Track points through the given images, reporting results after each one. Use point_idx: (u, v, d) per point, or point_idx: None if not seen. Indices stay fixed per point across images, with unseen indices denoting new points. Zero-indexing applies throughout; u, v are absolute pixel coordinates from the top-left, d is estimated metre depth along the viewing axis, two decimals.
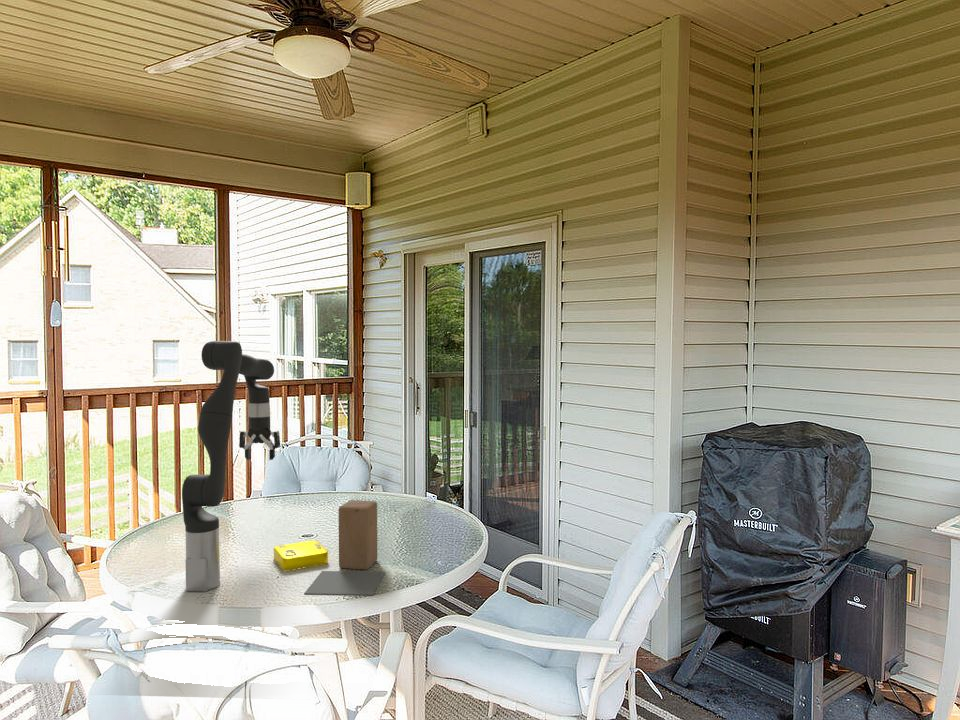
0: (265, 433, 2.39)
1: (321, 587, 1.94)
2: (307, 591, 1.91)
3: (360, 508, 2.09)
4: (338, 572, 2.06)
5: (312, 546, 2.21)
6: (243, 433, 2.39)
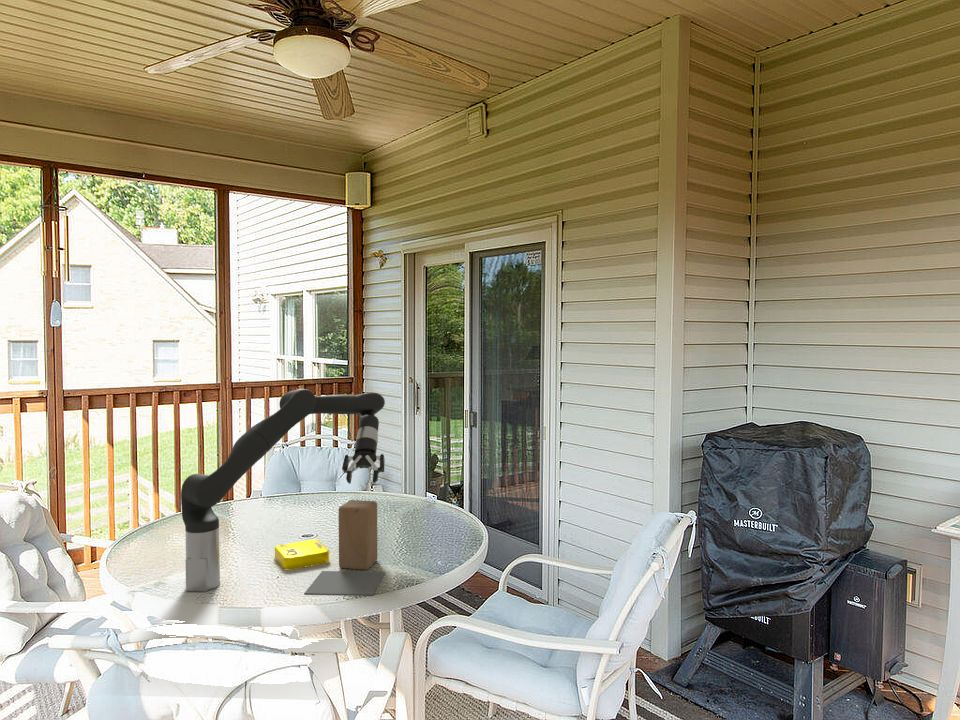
0: (371, 456, 2.30)
1: (321, 587, 1.94)
2: (307, 591, 1.91)
3: (360, 508, 2.09)
4: (338, 572, 2.06)
5: (313, 545, 2.22)
6: (348, 457, 2.31)
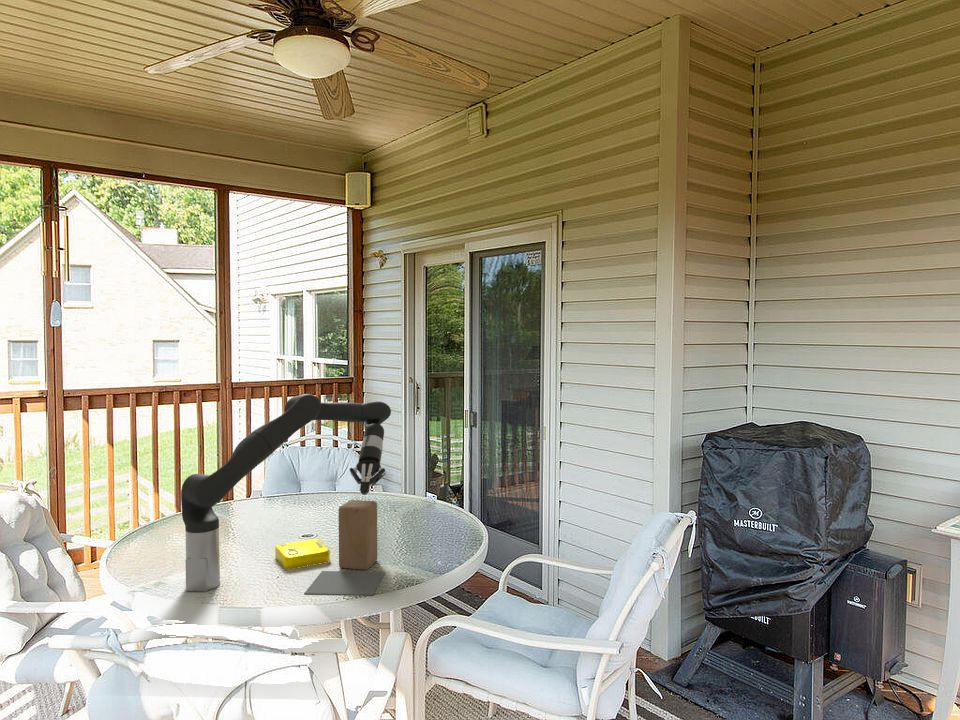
0: (376, 464, 2.29)
1: (321, 587, 1.94)
2: (307, 591, 1.91)
3: (360, 508, 2.09)
4: (338, 572, 2.06)
5: (314, 544, 2.23)
6: (353, 469, 2.28)
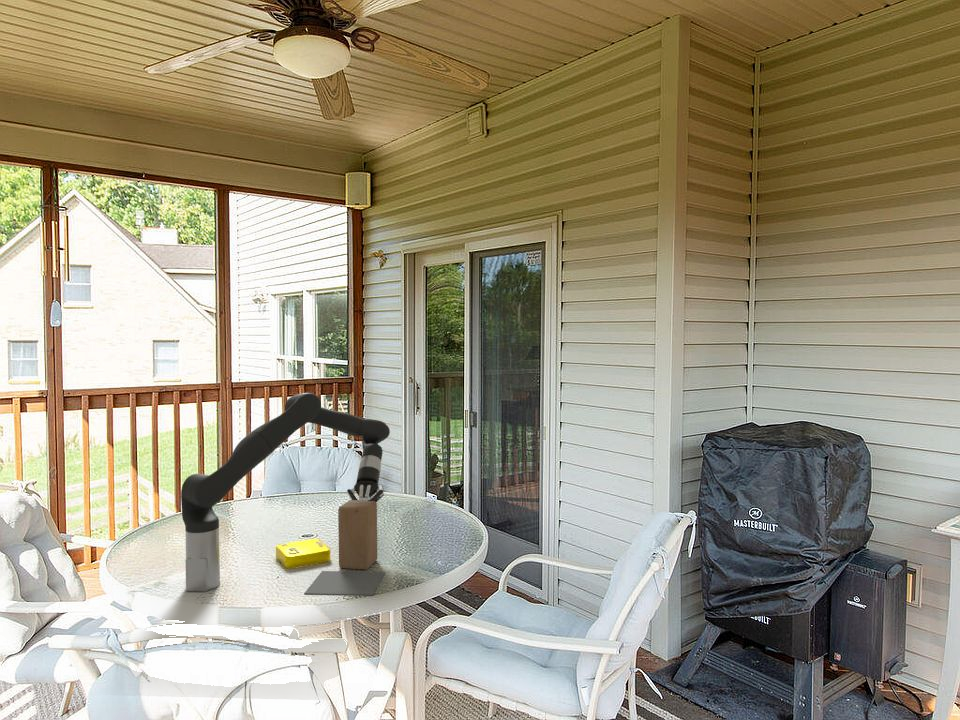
0: (374, 485, 2.26)
1: (321, 587, 1.94)
2: (307, 591, 1.91)
3: (360, 508, 2.08)
4: (338, 572, 2.06)
5: (314, 544, 2.23)
6: (350, 490, 2.25)
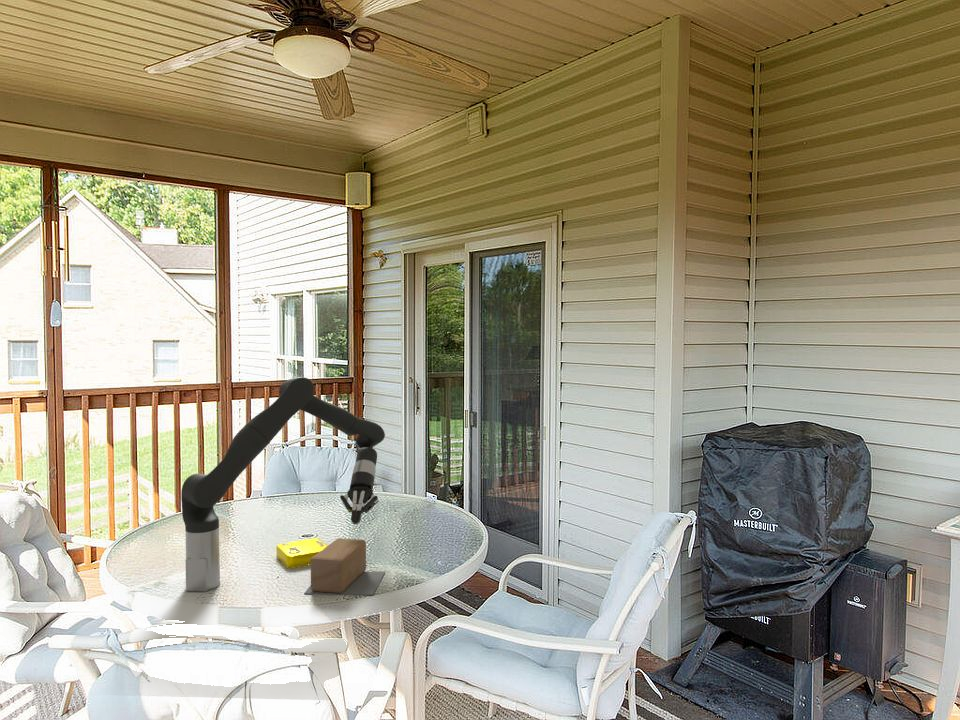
0: (368, 491, 2.16)
1: None
2: (307, 591, 1.91)
3: (334, 591, 1.89)
4: None
5: (315, 543, 2.24)
6: (344, 496, 2.16)
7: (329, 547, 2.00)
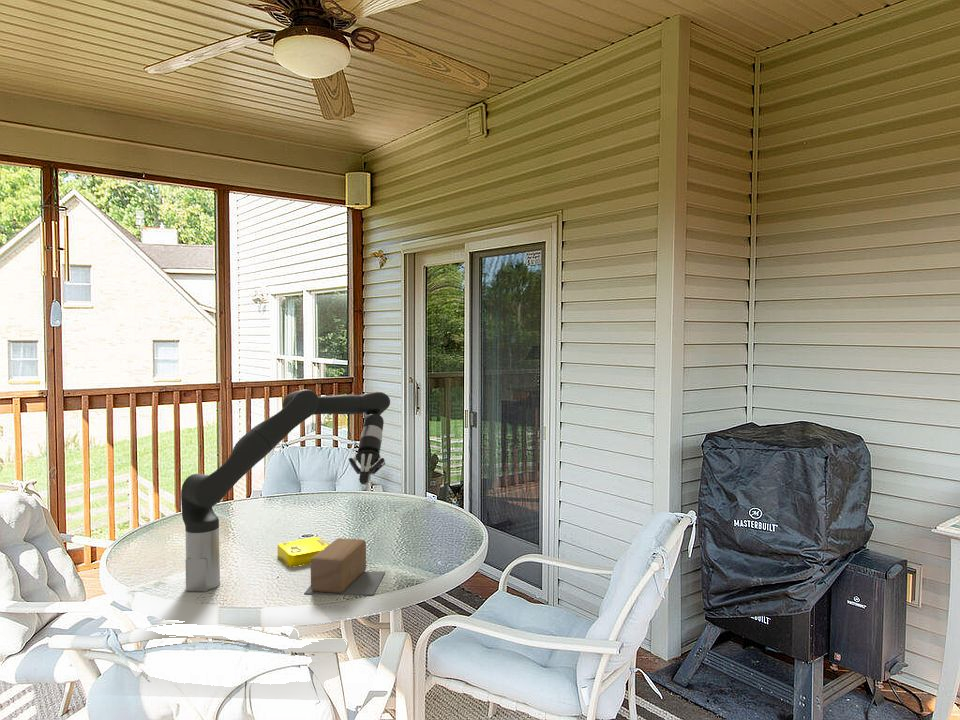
0: (375, 453, 2.28)
1: None
2: (307, 591, 1.91)
3: (334, 591, 1.89)
4: None
5: (316, 542, 2.25)
6: (352, 459, 2.27)
7: (329, 547, 2.00)
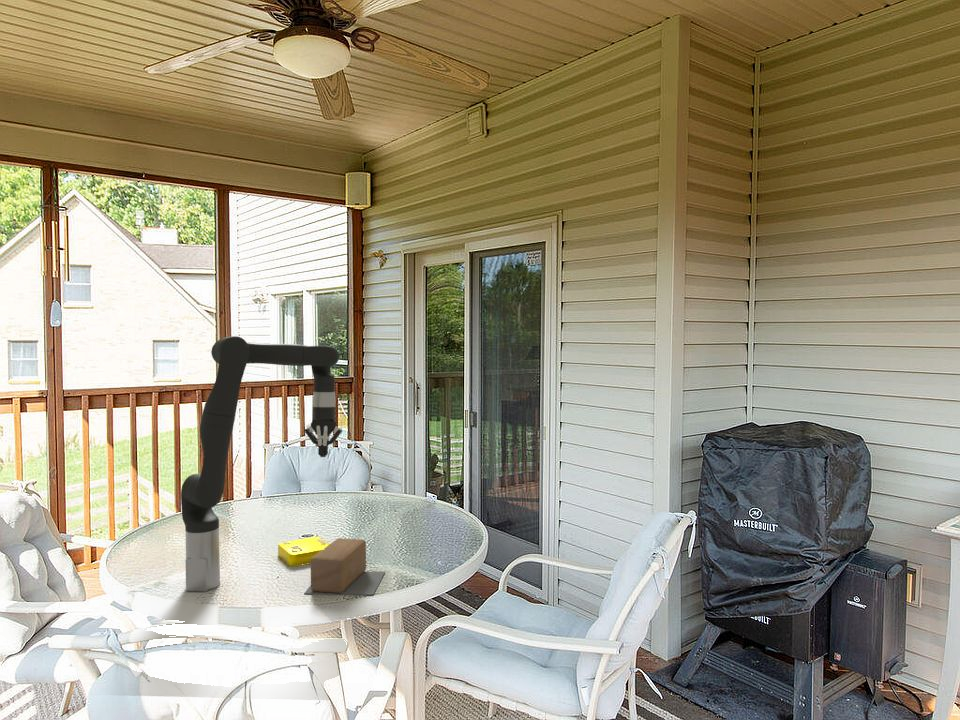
0: (330, 424, 2.21)
1: None
2: (307, 591, 1.91)
3: (334, 591, 1.89)
4: None
5: (316, 542, 2.25)
6: (308, 429, 2.21)
7: (329, 547, 2.00)
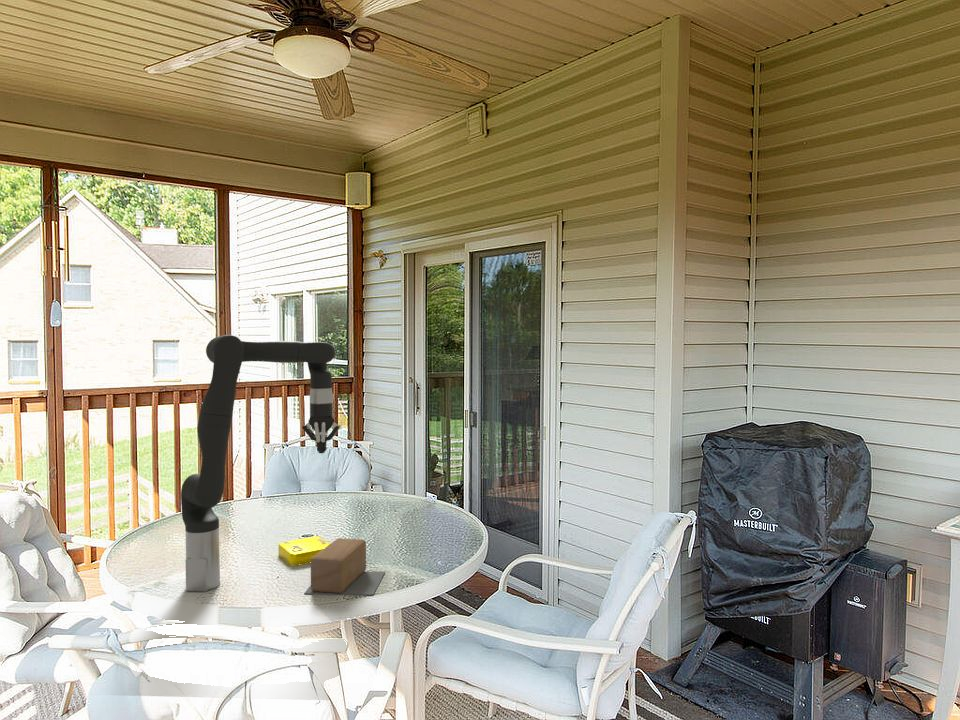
0: (328, 420, 2.20)
1: None
2: (307, 591, 1.91)
3: (334, 591, 1.89)
4: None
5: (316, 541, 2.26)
6: (306, 426, 2.21)
7: (329, 547, 2.00)
